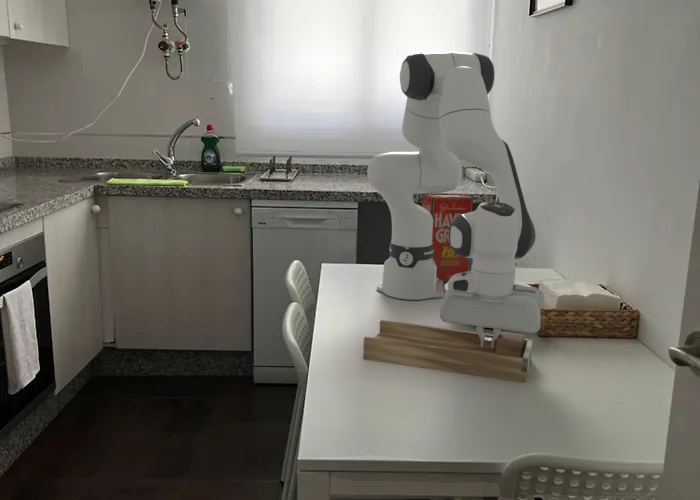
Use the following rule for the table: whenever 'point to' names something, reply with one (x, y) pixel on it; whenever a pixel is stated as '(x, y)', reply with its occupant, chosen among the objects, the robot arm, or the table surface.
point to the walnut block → (510, 344)
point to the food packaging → (446, 231)
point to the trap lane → (444, 351)
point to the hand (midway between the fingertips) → (487, 347)
